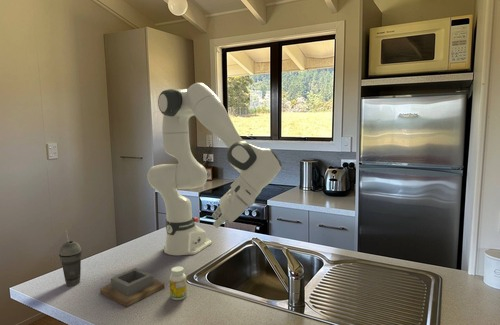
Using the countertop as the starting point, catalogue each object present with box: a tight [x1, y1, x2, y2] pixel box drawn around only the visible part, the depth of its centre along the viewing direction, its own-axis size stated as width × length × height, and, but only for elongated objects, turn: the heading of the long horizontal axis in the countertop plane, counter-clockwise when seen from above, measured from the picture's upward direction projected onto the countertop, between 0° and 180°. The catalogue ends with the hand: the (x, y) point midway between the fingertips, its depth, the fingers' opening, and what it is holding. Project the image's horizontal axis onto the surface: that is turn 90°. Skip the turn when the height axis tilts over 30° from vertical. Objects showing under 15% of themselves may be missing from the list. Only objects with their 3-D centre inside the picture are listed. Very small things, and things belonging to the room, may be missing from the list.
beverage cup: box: [58, 229, 83, 287], centre depth 120 cm, size 7×7×20 cm
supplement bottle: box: [169, 266, 188, 301], centre depth 111 cm, size 5×5×10 cm
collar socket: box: [99, 267, 165, 308], centre depth 116 cm, size 15×15×5 cm
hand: (214, 221), depth 111 cm, fingers open, 8 cm apart
